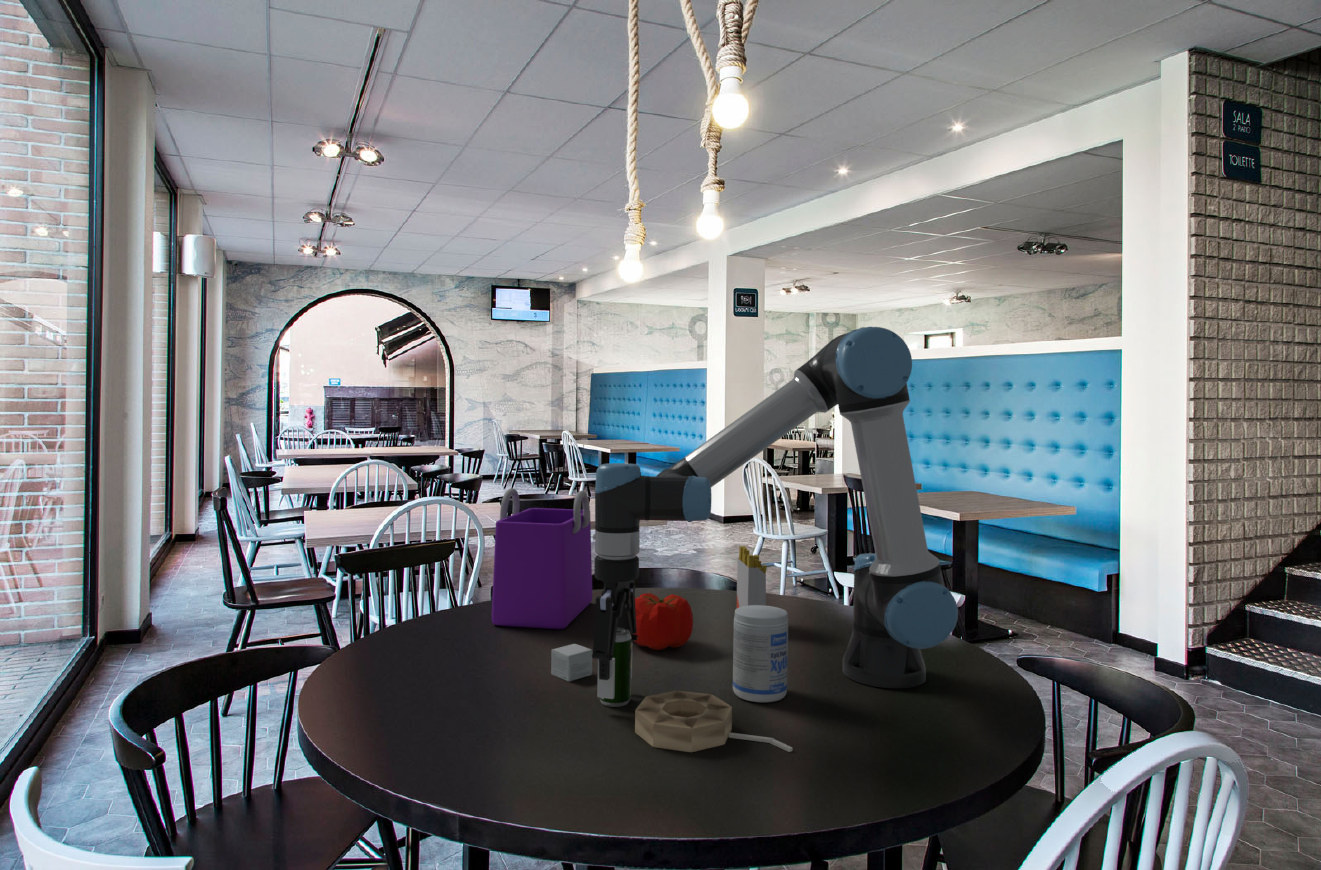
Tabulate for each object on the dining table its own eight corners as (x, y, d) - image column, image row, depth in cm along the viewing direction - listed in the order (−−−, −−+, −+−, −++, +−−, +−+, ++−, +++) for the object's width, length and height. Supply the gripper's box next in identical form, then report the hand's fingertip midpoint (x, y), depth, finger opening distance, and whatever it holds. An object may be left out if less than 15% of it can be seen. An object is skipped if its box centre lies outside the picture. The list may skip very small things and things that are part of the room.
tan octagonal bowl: (736, 718, 125) (736, 697, 125) (719, 756, 112) (719, 732, 112) (652, 708, 129) (653, 687, 129) (626, 743, 115) (626, 720, 115)
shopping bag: (587, 631, 173) (588, 496, 171) (488, 630, 172) (489, 495, 171) (593, 599, 201) (594, 484, 200) (508, 599, 200) (509, 483, 199)
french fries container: (754, 620, 183) (756, 544, 183) (767, 633, 173) (768, 553, 172) (736, 620, 183) (737, 544, 182) (746, 633, 172) (748, 553, 171)
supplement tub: (782, 707, 130) (784, 620, 130) (726, 700, 133) (728, 615, 132) (790, 687, 139) (792, 606, 139) (738, 681, 142) (740, 602, 142)
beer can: (609, 709, 128) (609, 637, 128) (593, 699, 133) (594, 629, 132) (636, 703, 131) (637, 633, 131) (620, 693, 136) (621, 625, 135)
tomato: (617, 650, 159) (618, 599, 159) (642, 633, 172) (643, 586, 171) (679, 659, 154) (680, 607, 154) (701, 641, 166) (702, 592, 166)
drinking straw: (794, 743, 116) (794, 740, 116) (792, 752, 113) (792, 749, 113) (729, 735, 119) (729, 732, 119) (725, 743, 116) (725, 740, 116)
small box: (574, 667, 149) (574, 642, 148) (593, 675, 145) (593, 649, 144) (549, 674, 145) (550, 648, 144) (568, 682, 141) (569, 656, 140)
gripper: (616, 543, 142) (614, 665, 143) (572, 565, 122) (570, 708, 122) (655, 545, 140) (653, 669, 141) (617, 569, 120) (615, 713, 120)
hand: (615, 687), depth 132 cm, fingers open, 9 cm apart
